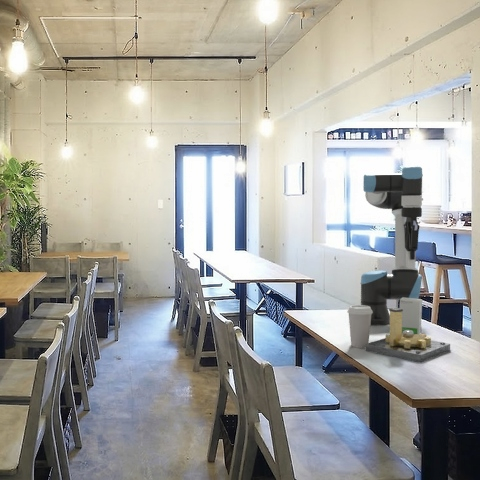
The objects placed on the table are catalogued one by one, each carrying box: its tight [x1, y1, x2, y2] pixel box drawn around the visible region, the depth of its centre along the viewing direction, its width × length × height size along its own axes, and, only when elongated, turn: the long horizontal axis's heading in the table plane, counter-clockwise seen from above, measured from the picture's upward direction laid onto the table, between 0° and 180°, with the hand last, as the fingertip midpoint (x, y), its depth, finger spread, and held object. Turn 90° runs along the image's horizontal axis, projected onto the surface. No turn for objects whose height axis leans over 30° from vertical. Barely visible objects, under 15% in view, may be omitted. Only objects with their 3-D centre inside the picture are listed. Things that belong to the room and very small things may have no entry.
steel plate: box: [365, 330, 451, 363], centre depth 215 cm, size 22×22×7 cm
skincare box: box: [399, 297, 423, 334], centre depth 237 cm, size 8×7×16 cm
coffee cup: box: [346, 304, 373, 349], centre depth 222 cm, size 10×10×15 cm
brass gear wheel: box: [385, 307, 432, 349], centre depth 214 cm, size 16×16×13 cm
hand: (410, 267), depth 226 cm, fingers closed
